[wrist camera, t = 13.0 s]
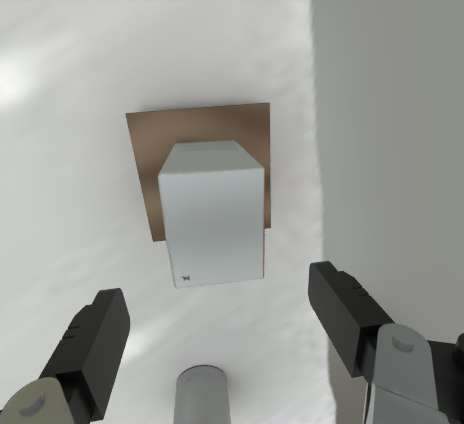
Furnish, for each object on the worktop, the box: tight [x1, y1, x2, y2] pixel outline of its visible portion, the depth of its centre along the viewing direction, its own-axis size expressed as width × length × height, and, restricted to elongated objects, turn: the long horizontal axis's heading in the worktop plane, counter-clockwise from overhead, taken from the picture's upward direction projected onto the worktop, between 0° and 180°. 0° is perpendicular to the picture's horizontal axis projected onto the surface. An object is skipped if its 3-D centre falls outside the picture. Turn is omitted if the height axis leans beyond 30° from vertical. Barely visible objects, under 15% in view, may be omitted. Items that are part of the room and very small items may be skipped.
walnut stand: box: [126, 103, 271, 242], centre depth 30 cm, size 14×14×5 cm
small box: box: [158, 140, 265, 288], centre depth 22 cm, size 8×6×13 cm
